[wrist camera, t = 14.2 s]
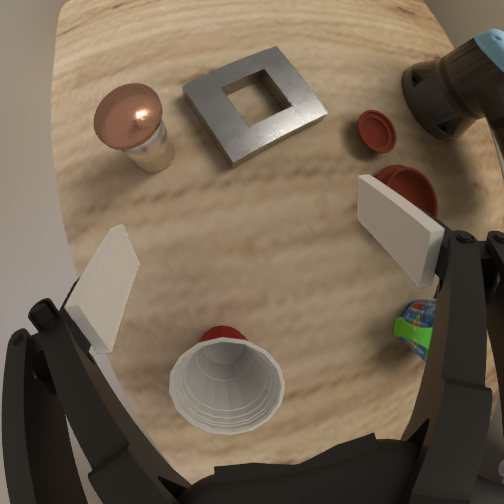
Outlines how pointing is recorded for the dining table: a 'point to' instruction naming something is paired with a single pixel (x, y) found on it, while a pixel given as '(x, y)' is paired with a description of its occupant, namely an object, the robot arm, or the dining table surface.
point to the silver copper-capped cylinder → (135, 126)
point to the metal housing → (228, 119)
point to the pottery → (396, 176)
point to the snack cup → (417, 326)
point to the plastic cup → (226, 383)
